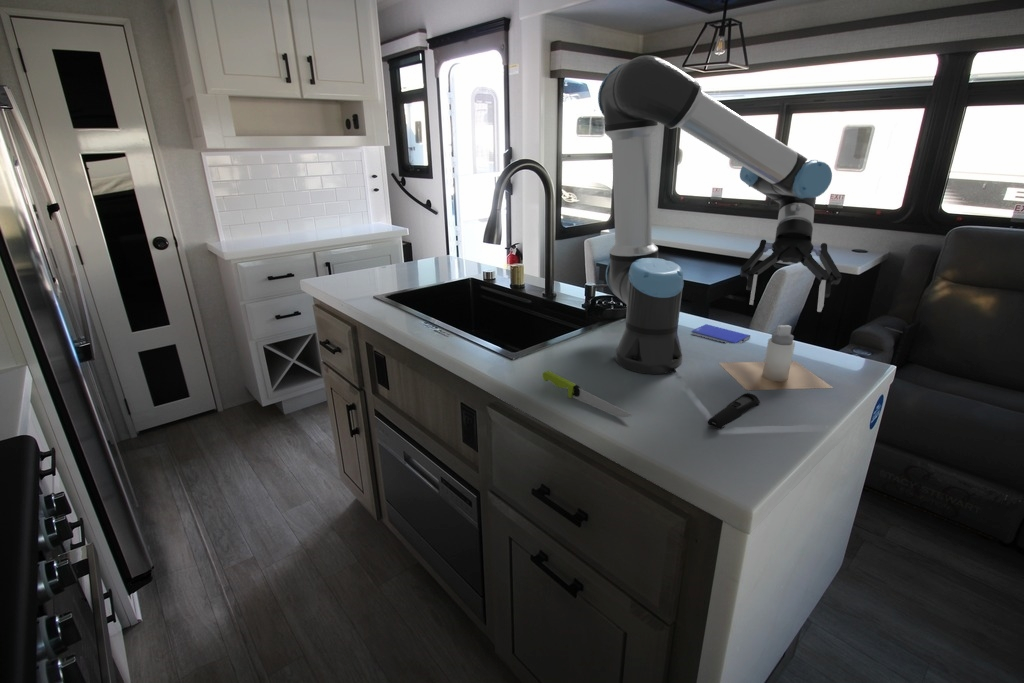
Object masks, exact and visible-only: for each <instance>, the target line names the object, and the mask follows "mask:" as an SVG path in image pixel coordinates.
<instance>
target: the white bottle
mask: <svg viewBox="0 0 1024 683" xmlns="http://www.w3.org/2000/svg"><path fill="white" fill-rule="evenodd" d="M791 332H792V326H791V325H788V324H785V325H784V324H783V325H782V324H778V325H777V328H776V331H775V332H772V333H771V337H770V338H768V340H767V346H766V350H765V351H766V352H765V357H764V361H763V362H764V367H763V373H762V376H763V377H764V378H766V379H768V380H772V381H778V382H783V381H787V380H788V376H789V371H790V366H791V361H793V356H794V351H795V347H796V343H795V341H794V338H795V336H794V335H793V334H791Z"/></svg>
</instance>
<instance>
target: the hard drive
mask: <svg viewBox="0 0 1024 683" xmlns="http://www.w3.org/2000/svg"><path fill="white" fill-rule="evenodd" d="M690 333H691V335H695V336H697V337H701V336H702V338H704V337H705V339H708V338H709V339H708V340H712V339H713V340H712V341H715V340H717V341H716V342H719V341H721V342H720V343H723V342H726V343H729V344H728V345H730V344H734V345H735V344H742V343H744V342H746V341H748V340H750V339H751V334H747V333H742V332H739V331H734V330H730V329H727V328H723V327H718V326H715V325H711V324H707V323H706V324H704V325H701V326H699V327H697V328H694V329H692V330H691V332H690ZM749 338H750V339H749ZM745 340H746V341H745ZM743 341H744V342H743ZM741 342H742V343H741ZM726 343H725V344H726Z"/></svg>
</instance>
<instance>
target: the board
mask: <svg viewBox="0 0 1024 683" xmlns="http://www.w3.org/2000/svg"><path fill="white" fill-rule="evenodd" d="M764 362H765V361H746V362H745V361H744V362H740V361H739V362H718V365H720V367H721V368H723V369H724V370H725V371H726V372H727V373H728V374H729V375H730V376H731V377H732V378H733V379H734V380H735V381H736V382H737V383H738V384H739V385H740V386H742V388H743V389H745V390H746V391H764V390H767V391H768V390H769V391H771V390H808V389H809V390H812V389H814V390H815V389H816V390H817V389H818V390H819V389H834V387H833V386H831V385H830V384H829V383H827V382H826V381H825V380H823V379H821V378H820V377H818V376H817V375H816V374H814V373H813V372H812V371H810V370H808V368H806V367H804V366H803V365H802V364H800V363H799V362H797V361H796V360H792V361H791V366H790V371H789V376H788V380H787V381H783V382H778V381H772V380H768V379H766V378H764V377H763V376H762V373H763V367H764Z"/></svg>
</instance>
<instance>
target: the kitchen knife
mask: <svg viewBox="0 0 1024 683" xmlns="http://www.w3.org/2000/svg"><path fill="white" fill-rule="evenodd" d="M542 379H543V381H544V382H548V381H549V382H551V383H552V384H553V385H554V386H556V387H558V388H560V389H567V398H570V399H572V398H573V399H576V400H577V401H580V402H583V403H585V404H587V405H589V406H591V407H594V408H596V409H599V410H601V411H603V412H605V413H608V414H611V415H612V416H614V417H617V418H630V417H631V416H633V414H631V413H630V412H628V411H626V410H624V409H622V408H619V407H618V406H616V405H614V404H612V403H610V402H608V401H606V400H604V399H602V398H600V397H599V396H596V395H594V394H592V393H591V392H588V391H586V390H584V389H582V388H581V387H580V386H579V385H578V384H576V383H574V382H572V381H570V380H568V379H566V378H564V377H562V376H560V375H558V374H557V373H554V372H552V371H550V370H546V371H544V372H542Z"/></svg>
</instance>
